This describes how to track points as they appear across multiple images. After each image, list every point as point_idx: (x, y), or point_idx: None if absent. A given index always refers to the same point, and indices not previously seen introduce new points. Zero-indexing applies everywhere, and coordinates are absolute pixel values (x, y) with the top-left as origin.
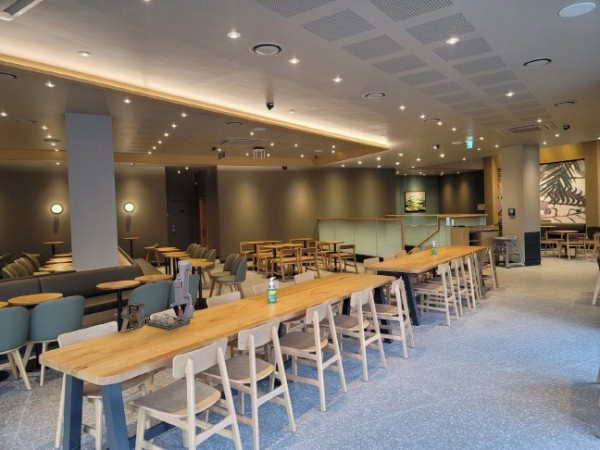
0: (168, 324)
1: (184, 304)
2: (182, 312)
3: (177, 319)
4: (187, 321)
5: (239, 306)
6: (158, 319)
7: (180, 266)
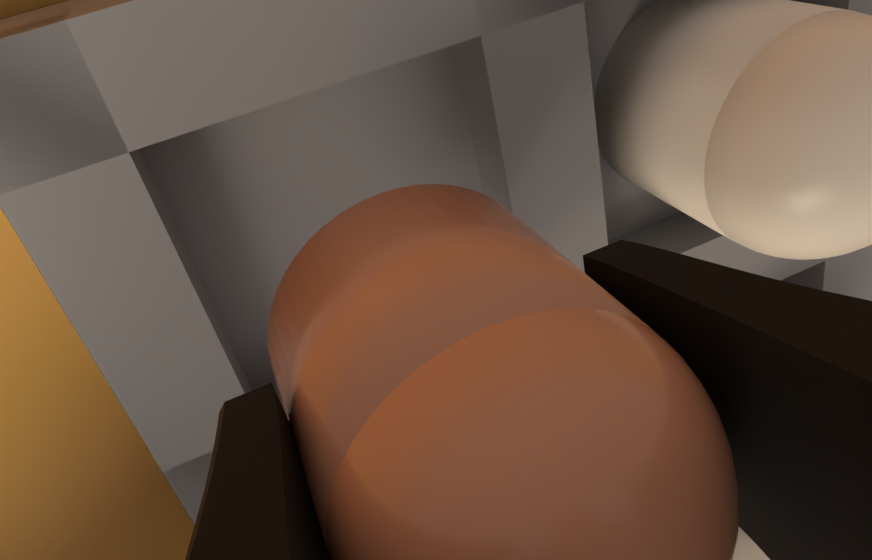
0: (850, 8)
1: None
2: (397, 356)
3: None
4: (89, 9)
5: None
6: (755, 554)
7: None
